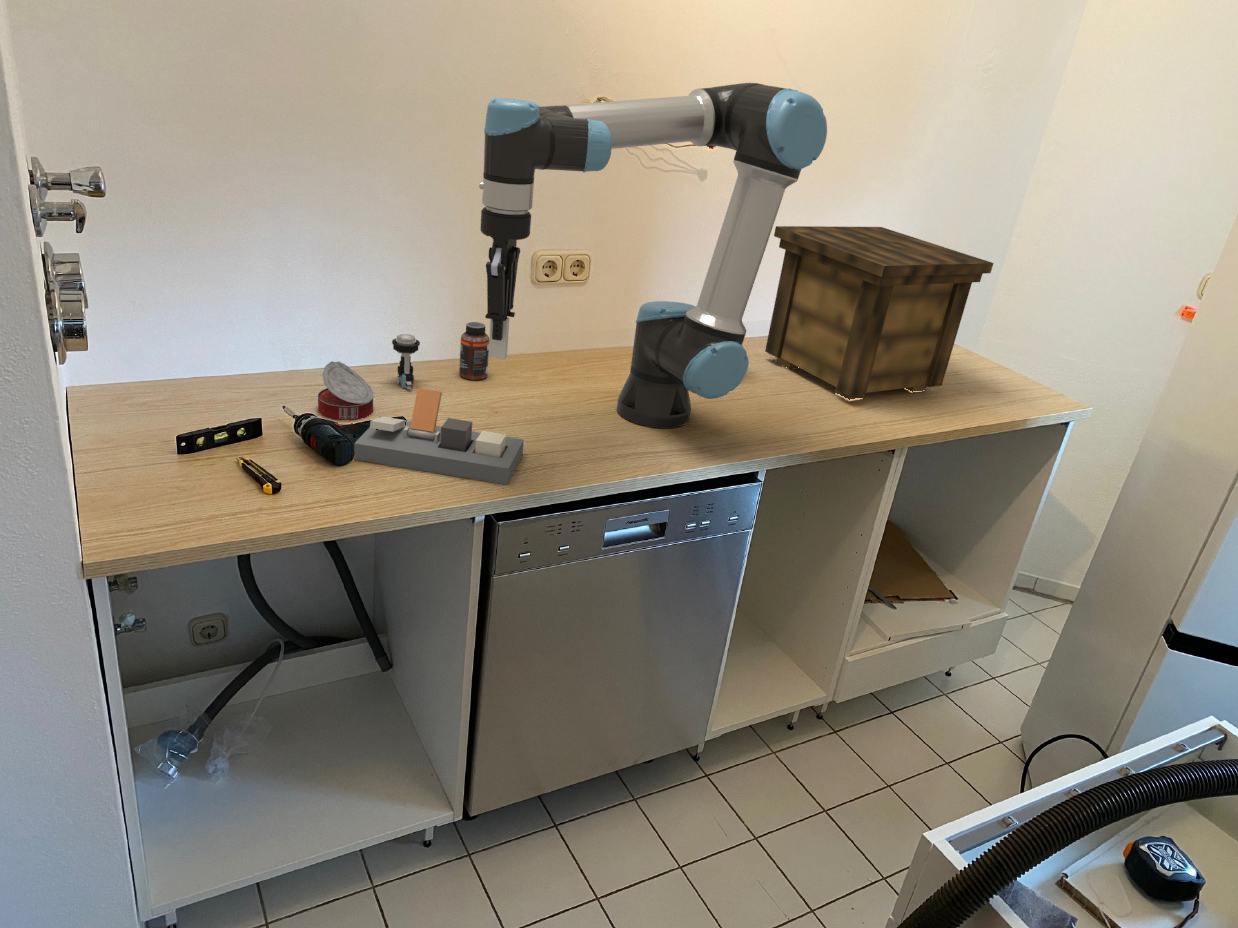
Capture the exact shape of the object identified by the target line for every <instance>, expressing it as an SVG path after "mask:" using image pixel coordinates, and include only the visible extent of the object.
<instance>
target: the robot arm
mask: <svg viewBox="0 0 1238 928" xmlns="http://www.w3.org/2000/svg"><path fill="white" fill-rule="evenodd" d="M484 124H485V125H484V129H483V130H484V131H483V132H484V150H483V151H484V152H483V153H484V154H483V156H484V157H483V158H484V159H483V174H482V175H483V180H482V182H480V183H479V185H478V187H479V189H480V190H482V195H481V196H482V198H481V203H482V204H483V206H484V207H482V209H481V212H480V213H481V214H480V215H481V216H480V232H481V234H483V235H485V236H486V237H490V238H492V241H493V242H492V244H491V247H489V249H488V259H489V261H487V262H486V263H485V271H486V279H487V280H486V289H487V292H486V295H487V297H486V299H487V302H486V303H487V307H486V308H487V312H486V314H485V319H489V320H490V322H489V323H490V324H489V357H488V358H493V359H502V360H506V358H507V356H508V346H509V345H508V344H509V332H510V331H509V329H510V318H515V316H516V315H515V314H516V312H515V311H511V310H513V309H514V301H515V291H516V282H517V275H518V274H517V273H518V266H519V259H520V254H521V248H520V247H518V246H517V241H518V240H519V241H521V240H524V239H527V238H529V237H530V235H531V223H532V214H531V212H530V210H531V209H532V208H533V202H534V187H535V186H534V185H535V184H534V182H535V172H536V170H539V171H540V170H541V171H542V170H543V171H544V170H547V171H548V170H552V171H568V172H569V171H570V172H582V173H584V174H585V173H586V172H599V171H602V170H604V169H605V168H606V167H607V165H608V164H609V162H610V159H611V156H612V150H613V149H614V150H615V149H625V148H626V149H627V148H633V147H634V148H636V147H645V146H656V145H665V144H675V143H677V144H678V143H685V142H686V143H687V142H690V143H691V144H692V145H694V146H695V147H707V146H712V147H719V148H720V147H721V148H725V149H729V150H733V151H735V154H734V158H733V161H732V162H733V164H734V166H735V169H736V171H737V177H736V181H735V184H734V186H733V190H732V193H731V196H730V199H729V203H728V206H727V209H726V213H725V215H724V219H723V222H722V224H721V228H720V231H719V234H718V237H717V240H716V245H715V247H714V250H713V253H712V257H711V259H710V261H709V267H708V269H707V272H706V275H705V279H704V282H703V285H702V287H701V291H700V295H699V298H698V300H697V304H696V305H693V304H690V303H684V302H678V301H667V300H666V301H664V300H663V301H662V300H660V301H659V300H657V301H649V302H648V301H647V302H645V303H643V304H641V306H640V307H639V310H638V313H637V317H636V321H635V324H636V325H635V332H634V339H633V348H632V354H631V355H632V357H631V362H630V364H631V365H630V371H629V375H628V377H627V379H626V381H625V383H624V384H623V386H622V389H621V391H620V393H619V395H618V397H617V404H616V411H617V413H618V414H619V415H620V416H621V417H622V418H624V419H625V420H627V421H629V422H632V423H634V424H638V425H640V426H645V427H651V428H660V429H661V428H662V429H668V428H677V427H682V426H684V425H686V424H687V423H689V421H690V419H691V413H692V404H691V398H690V394H689V393H690V392H691V393H693V394H696V395H697V396H699V397H702V398H704V399H717V398H718V399H719V398H721V397H724V396H726V395H727V394H728V393H729V392H733V391H734V390H735V389H736V388H737V387H739V385H740V384H741V382H742V381H743V379H744V378H745V376H746V374H747V372H748V369H749V368H748V367H749V360H750V359H749V357H748V353H747V350H746V349H745V348H744V346H743V343H744V341H745V337H746V335H747V328H746V326H745V325H744V322H743V317H744V313H745V311H746V307H747V305H748V302H749V300H750V296H751V293H752V290H753V287H754V284H755V280H756V278H757V276H758V272H759V269H760V266H761V263H762V261H763V260H762V259H763V257H764V253H765V251H766V247H767V245H768V242H769V239H770V235H771V233H772V230H773V227H774V224H775V221H776V218H777V215H778V212H779V209H780V207H781V203H782V200H783V197H784V194H785V193H786V189H787V188H788V187H790V186H792V185H793V184H795V183H796V182H798V180H799V178H800V174H801V171H802V169H805V168H806V167H810V165H813V162H814V161H817V160H818V158H819V157H820V156H821V154H822V152H823V150H824V147H825V144H826V141H827V136H828V124H827V118H826V115H825V114H824V109H823V107H822V105H821V103H820V102H819V101H818V100H817V99H816V98H815V97H813V96H812V95H810V94H808V93H805V92H803V91H799V90H797V89H792V88H784V87H779V86H773V85H766V84H762V83H757V82H742V83H735V84H734V83H733V84H726V85H720V86H719V85H718V86H713V87H703V88H695V89H693V90H692V91H690V92H689V94H688V95H681V96H680V95H679V96H669V97H668V96H667V97H654V98H653V97H652V98H640V99H639V98H638V99H626V100H625V99H624V100H615V101H611V100H610V101H600V102H599V101H598V102H589V103H588V102H587V103H586V102H585V103H575V104H574V103H573V104H564V105H563V104H562V105H546V106H539V105H538V104H537V103H536V102H533V101H530V100H527V99H526V100H524V99H518V98H517V99H516V98H508V97H496V98H492V99H491V100H489V102H488V104H487V108H486V115H485V123H484Z"/></svg>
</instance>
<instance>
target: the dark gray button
mask: <svg viewBox="0 0 1238 928" xmlns="http://www.w3.org/2000/svg"><path fill="white" fill-rule="evenodd" d="M441 426H442V427H441V444H440V448H444V449H451V450H457V451H463V452H466V450H467V449H468V447H469V446H470V444H471V437H472V431H473V421H470V420H464V419H457V418H452V417H447V419H446V420H445V422H444V423H443V424H442V425H441Z"/></svg>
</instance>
